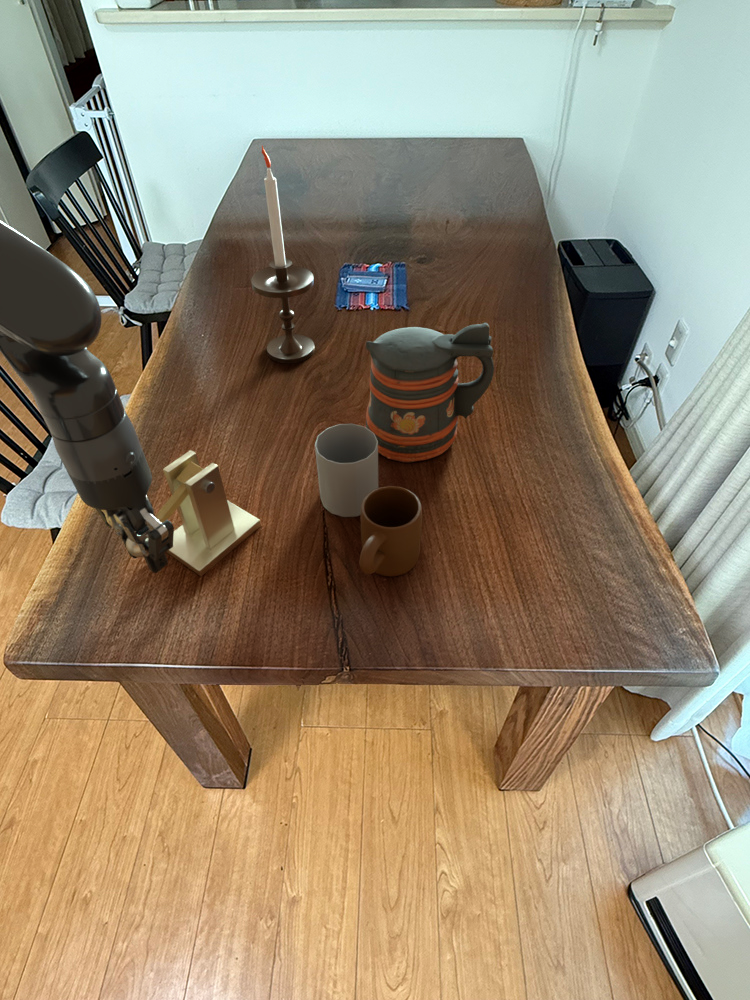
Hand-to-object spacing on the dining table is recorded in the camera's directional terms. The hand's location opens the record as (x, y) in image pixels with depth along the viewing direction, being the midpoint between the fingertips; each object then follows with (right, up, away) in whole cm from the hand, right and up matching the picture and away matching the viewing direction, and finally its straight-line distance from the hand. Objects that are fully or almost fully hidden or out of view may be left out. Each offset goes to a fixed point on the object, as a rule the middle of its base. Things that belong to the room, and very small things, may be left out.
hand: (149, 559), depth 73 cm
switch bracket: (+5, +2, +8) cm, 10 cm away
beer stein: (+36, +18, +24) cm, 46 cm away
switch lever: (+3, +5, 0) cm, 6 cm away
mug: (+29, -2, +4) cm, 29 cm away
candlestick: (+12, +36, +42) cm, 56 cm away
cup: (+24, +8, +14) cm, 29 cm away
